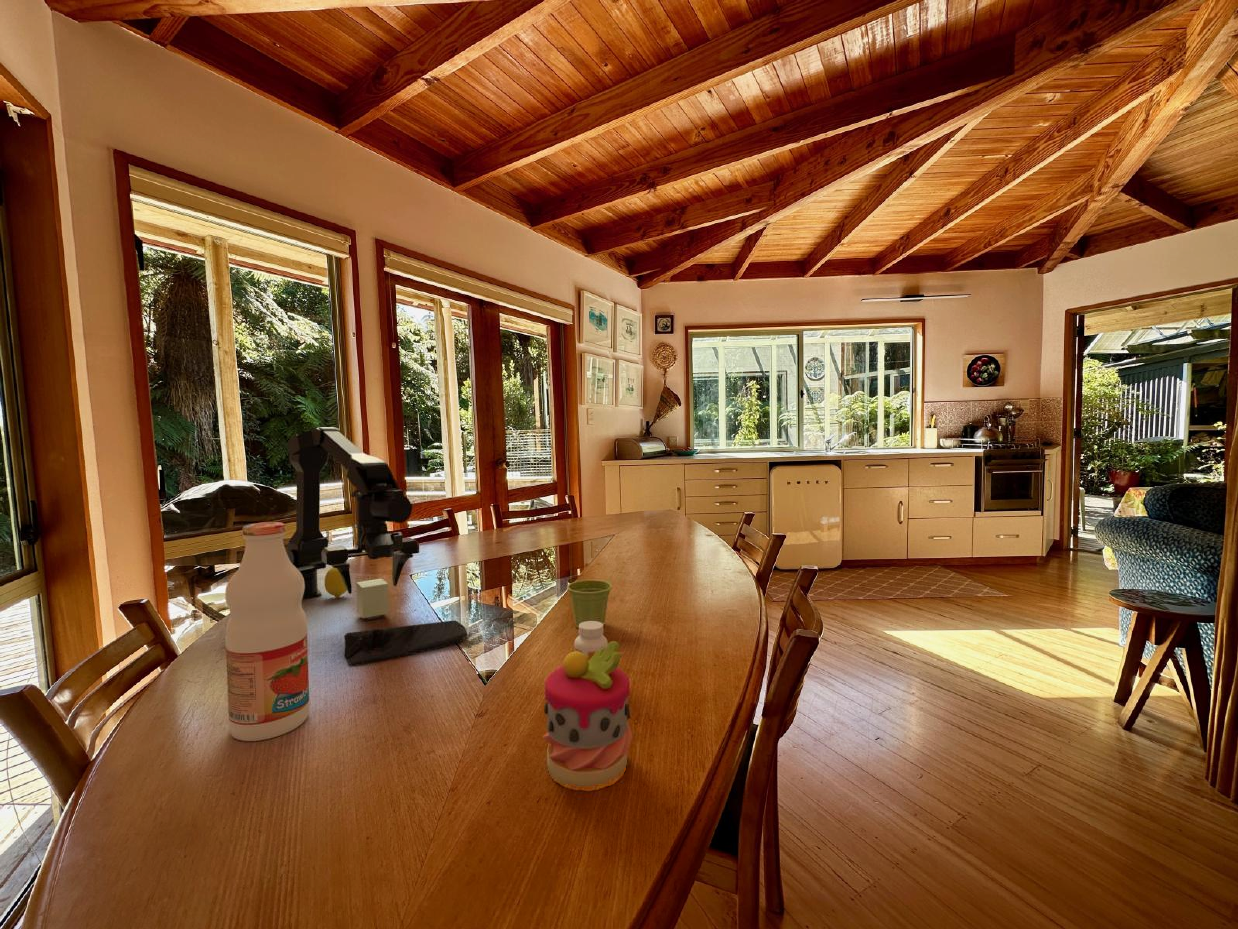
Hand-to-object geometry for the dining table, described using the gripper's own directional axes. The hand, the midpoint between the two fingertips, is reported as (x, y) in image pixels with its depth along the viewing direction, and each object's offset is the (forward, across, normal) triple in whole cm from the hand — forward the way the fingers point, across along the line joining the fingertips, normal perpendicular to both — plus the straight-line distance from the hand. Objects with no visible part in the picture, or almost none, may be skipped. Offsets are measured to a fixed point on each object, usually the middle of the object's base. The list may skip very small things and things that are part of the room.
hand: (372, 589), depth 117 cm
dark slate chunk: (+7, +1, -19) cm, 20 cm away
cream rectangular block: (+5, 0, 0) cm, 5 cm away
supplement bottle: (+6, +19, -55) cm, 58 cm away
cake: (+6, +6, -72) cm, 72 cm away
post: (+6, 0, 0) cm, 6 cm away
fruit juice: (+6, -23, -37) cm, 44 cm away
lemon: (+6, -3, +20) cm, 21 cm away
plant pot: (+6, +34, -34) cm, 48 cm away
